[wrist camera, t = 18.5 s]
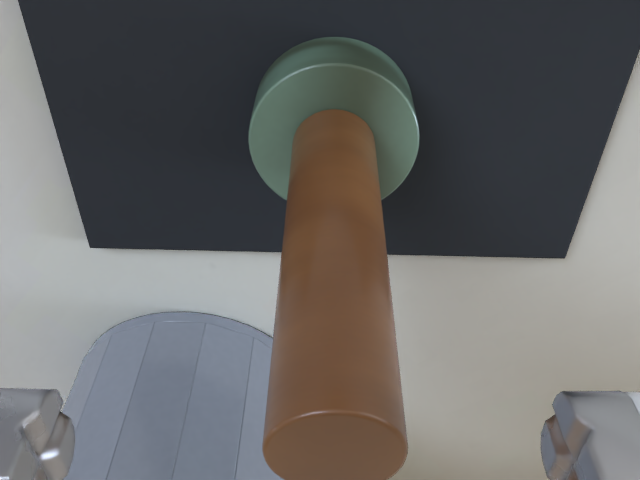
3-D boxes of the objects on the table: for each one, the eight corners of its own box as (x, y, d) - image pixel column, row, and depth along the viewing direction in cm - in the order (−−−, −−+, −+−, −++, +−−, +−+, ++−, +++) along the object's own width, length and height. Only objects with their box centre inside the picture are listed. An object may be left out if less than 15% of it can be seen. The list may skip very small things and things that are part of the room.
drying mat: (92, 241, 23) (89, 248, 23) (-10, -117, 16) (-16, -115, 15) (562, 252, 23) (565, 259, 23) (686, -103, 16) (693, -100, 15)
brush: (258, 177, 21) (198, 525, 12) (250, 33, 18) (159, 352, 8) (403, 181, 21) (462, 532, 12) (421, 37, 18) (522, 361, 8)
